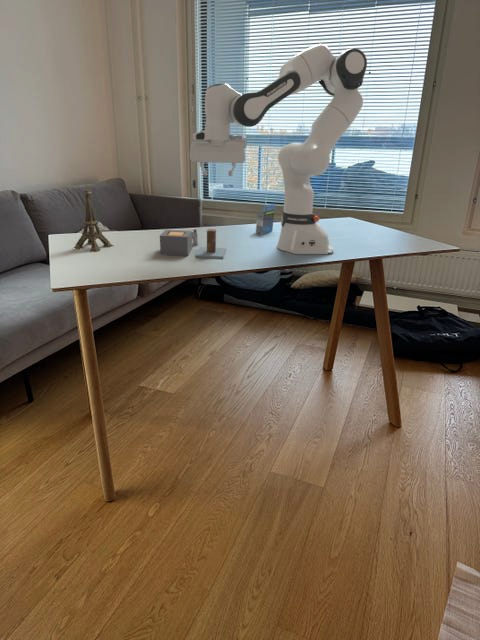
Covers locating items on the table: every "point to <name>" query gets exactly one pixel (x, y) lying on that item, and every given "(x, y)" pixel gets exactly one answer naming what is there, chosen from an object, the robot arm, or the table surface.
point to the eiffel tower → (91, 227)
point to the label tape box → (265, 220)
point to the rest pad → (218, 253)
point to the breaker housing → (176, 243)
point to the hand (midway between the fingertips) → (217, 175)
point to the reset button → (176, 233)
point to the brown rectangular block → (211, 240)
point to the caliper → (194, 237)
